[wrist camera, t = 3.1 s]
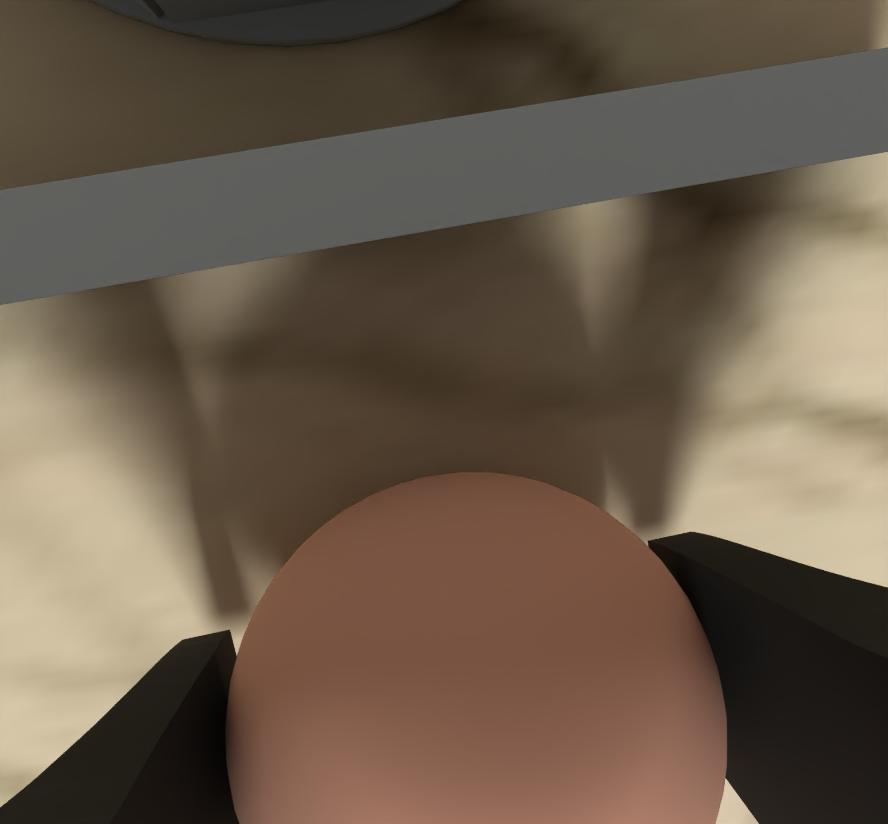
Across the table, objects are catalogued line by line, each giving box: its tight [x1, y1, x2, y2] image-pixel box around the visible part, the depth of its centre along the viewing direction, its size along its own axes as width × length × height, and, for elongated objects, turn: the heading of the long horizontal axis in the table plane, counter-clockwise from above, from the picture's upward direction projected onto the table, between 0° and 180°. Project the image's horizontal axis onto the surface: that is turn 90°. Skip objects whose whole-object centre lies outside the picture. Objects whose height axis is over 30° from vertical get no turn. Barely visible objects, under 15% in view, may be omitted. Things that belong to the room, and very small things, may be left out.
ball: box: [225, 472, 727, 824], centre depth 10 cm, size 6×6×6 cm
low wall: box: [0, 48, 888, 305], centre depth 9 cm, size 1×14×3 cm, turn 99°
